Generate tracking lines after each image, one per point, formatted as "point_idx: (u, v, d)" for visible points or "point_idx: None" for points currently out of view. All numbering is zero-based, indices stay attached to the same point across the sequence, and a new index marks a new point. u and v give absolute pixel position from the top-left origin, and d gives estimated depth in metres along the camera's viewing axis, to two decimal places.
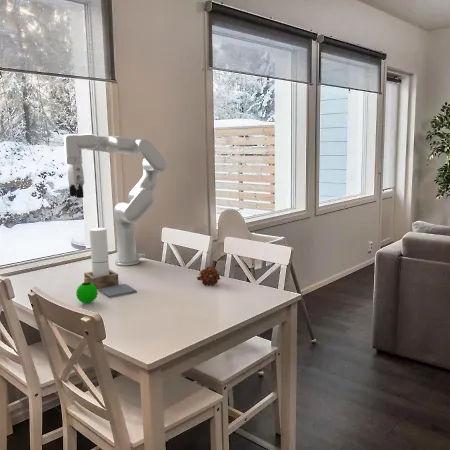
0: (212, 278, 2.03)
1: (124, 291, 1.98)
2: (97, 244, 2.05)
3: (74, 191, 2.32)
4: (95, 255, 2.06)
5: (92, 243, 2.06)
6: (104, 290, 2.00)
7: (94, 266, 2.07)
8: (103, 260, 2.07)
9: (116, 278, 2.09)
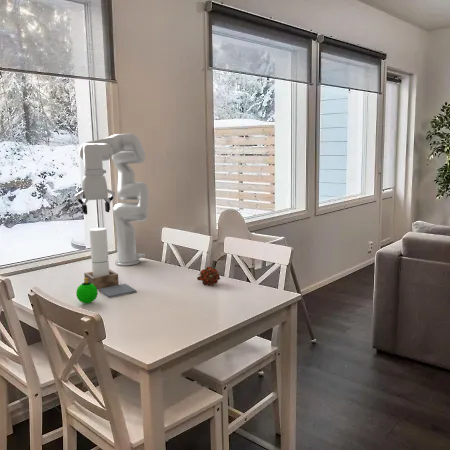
0: (212, 278, 2.03)
1: (124, 291, 1.98)
2: (97, 244, 2.05)
3: None
4: (95, 255, 2.06)
5: (92, 243, 2.06)
6: (104, 290, 2.00)
7: (94, 266, 2.07)
8: (103, 260, 2.07)
9: (116, 278, 2.09)
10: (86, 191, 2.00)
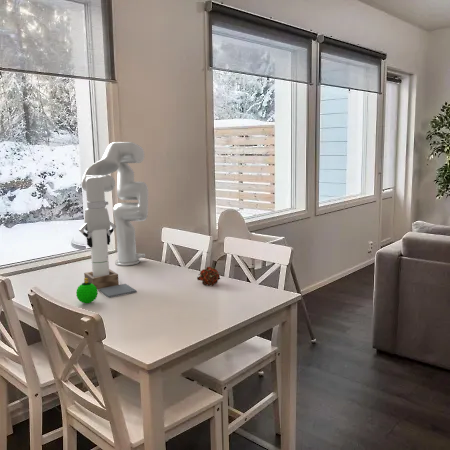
0: (212, 278, 2.03)
1: (124, 291, 1.98)
2: (97, 244, 2.05)
3: None
4: (95, 255, 2.06)
5: (92, 243, 2.06)
6: (104, 290, 2.00)
7: (94, 266, 2.07)
8: (103, 260, 2.07)
9: (116, 278, 2.09)
10: (89, 223, 2.03)
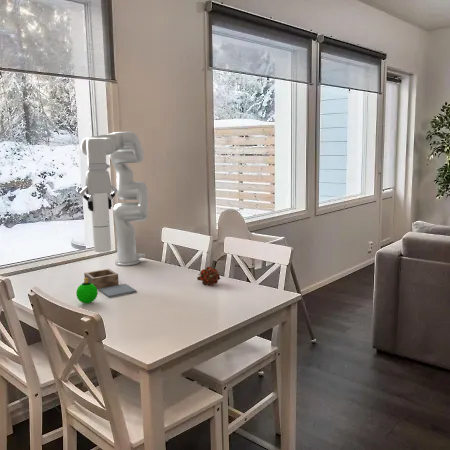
0: (212, 278, 2.03)
1: (124, 291, 1.98)
2: (98, 207, 2.00)
3: None
4: (96, 219, 2.01)
5: (93, 207, 2.00)
6: (104, 290, 2.00)
7: (95, 230, 2.02)
8: (104, 224, 2.02)
9: (116, 278, 2.09)
10: (89, 186, 1.98)
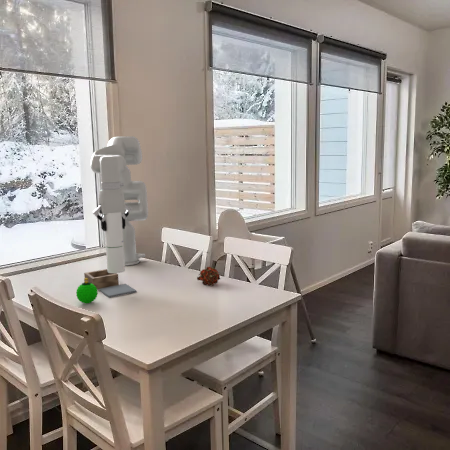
0: (212, 278, 2.03)
1: (124, 291, 1.98)
2: (112, 227, 1.93)
3: None
4: (109, 240, 1.94)
5: (106, 227, 1.93)
6: (104, 290, 2.00)
7: (108, 251, 1.95)
8: (118, 245, 1.95)
9: (116, 278, 2.09)
10: (103, 205, 1.91)
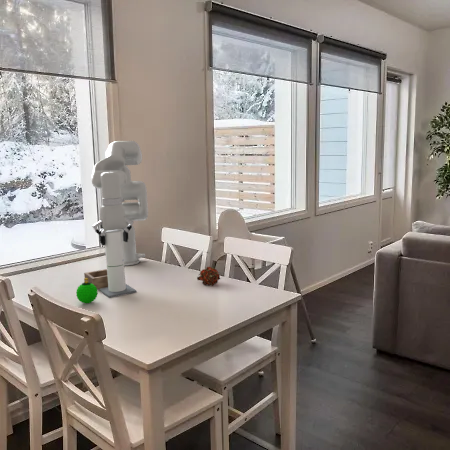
0: (212, 278, 2.03)
1: (124, 291, 1.98)
2: (112, 246, 1.94)
3: None
4: (110, 259, 1.96)
5: (107, 246, 1.95)
6: (104, 290, 2.00)
7: (109, 270, 1.97)
8: (119, 264, 1.97)
9: None
10: (104, 221, 1.92)
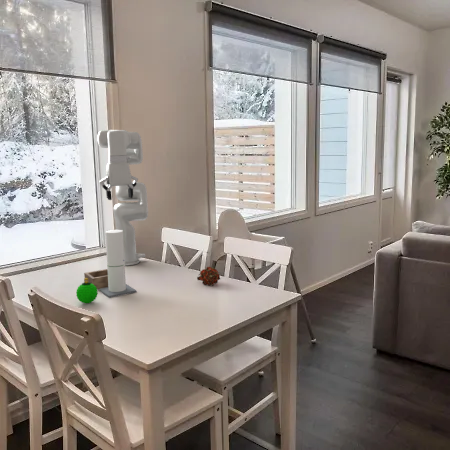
0: (212, 278, 2.03)
1: (124, 291, 1.98)
2: (113, 246, 1.95)
3: None
4: (111, 259, 1.96)
5: (108, 246, 1.95)
6: (104, 290, 2.00)
7: (110, 270, 1.97)
8: (119, 264, 1.97)
9: None
10: (110, 177, 2.04)
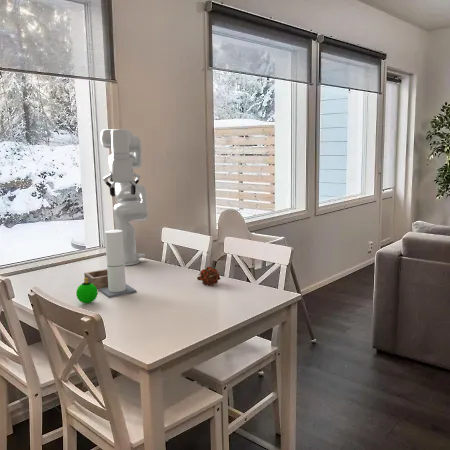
0: (212, 278, 2.03)
1: (124, 291, 1.98)
2: (113, 246, 1.95)
3: None
4: (110, 259, 1.96)
5: (108, 246, 1.95)
6: (104, 290, 2.00)
7: (110, 270, 1.97)
8: (119, 264, 1.97)
9: None
10: (114, 174, 2.10)
